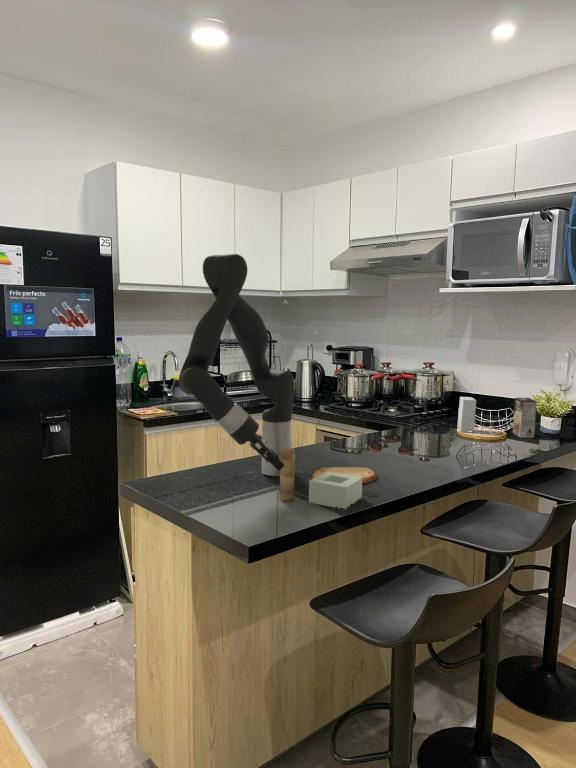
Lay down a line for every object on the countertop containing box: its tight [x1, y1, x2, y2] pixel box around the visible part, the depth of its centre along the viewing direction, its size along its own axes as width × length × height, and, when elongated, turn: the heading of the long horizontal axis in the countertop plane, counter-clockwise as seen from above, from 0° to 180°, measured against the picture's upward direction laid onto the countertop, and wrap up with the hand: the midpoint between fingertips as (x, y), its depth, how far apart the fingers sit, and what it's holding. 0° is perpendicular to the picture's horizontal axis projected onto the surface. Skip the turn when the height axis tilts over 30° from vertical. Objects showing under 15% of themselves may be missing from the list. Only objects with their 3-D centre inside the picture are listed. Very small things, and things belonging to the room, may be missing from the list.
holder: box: [308, 472, 363, 510], centre depth 159 cm, size 11×11×6 cm
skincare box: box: [456, 396, 477, 433], centre depth 258 cm, size 8×6×15 cm
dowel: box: [279, 447, 296, 502], centre depth 159 cm, size 4×4×14 cm
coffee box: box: [512, 397, 537, 439], centre depth 249 cm, size 9×6×16 cm
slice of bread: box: [311, 466, 377, 484], centre depth 180 cm, size 18×18×4 cm
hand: (279, 463), depth 158 cm, fingers open, 8 cm apart
